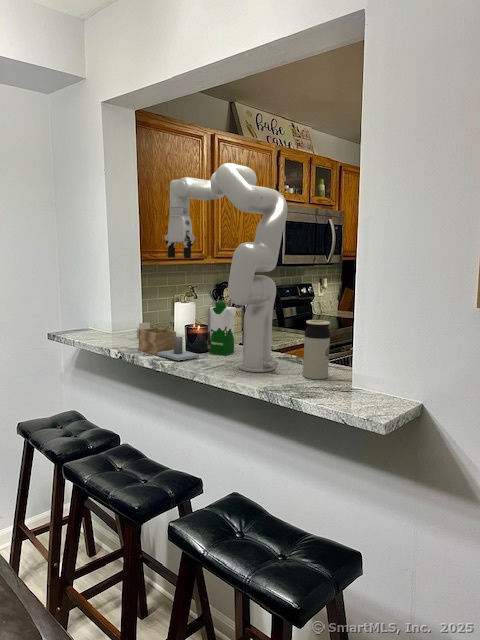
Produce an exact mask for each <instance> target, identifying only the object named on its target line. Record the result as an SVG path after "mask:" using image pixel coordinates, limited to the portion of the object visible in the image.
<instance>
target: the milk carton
mask: <svg viewBox="0 0 480 640" xmlns="http://www.w3.org/2000/svg"><path fill="white" fill-rule="evenodd" d="M209 308H210V317H211V323H210V348H209V354H210V355H217V356H218V355H219V356H225V357H227V356H228V355H230V354H234V353H235V322H236V321H235V318H236V310H237V307H235V306H234V307H233V306H227V303H226V302H224V301H216V302H215V306H213V307H209Z"/></svg>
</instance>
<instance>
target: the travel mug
mask: <svg viewBox="0 0 480 640" xmlns="http://www.w3.org/2000/svg"><path fill="white" fill-rule="evenodd" d="M305 323H306V326H307V327H306V329H305V331H304V342H303V345H304V346H303V363H302V365H303V366H302V376H303V377H305V379H309V380H314V381H315V380H316V381H317V380H325V379H327V378H329V363H330V361H329V360H330V345H331V343H330V342H331V331H330V329H329V326H330V324H331V322H330V321H329V320H328V321H327V320H321V319H308V320H306V322H305Z"/></svg>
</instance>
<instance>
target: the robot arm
mask: <svg viewBox="0 0 480 640" xmlns="http://www.w3.org/2000/svg"><path fill="white" fill-rule="evenodd" d="M257 180H258V178H257V175H256V172H255V171H254V170H253V169H252V168H250V167H248V166H246V165H241V164H238V163H231V162H225V163H222V164H221V165H220V166H219V167H218V168H217V169H216V171H214V173H212V175H211V177H210V179H202V178H196V177H190V176H185V177H182V178H179V179H173V180H171V181H170V183H169V219H168V226H167V227H168V228H167V234H165V235H164V240H165V244H166V247H167V258H172V259H173V258H174V259H175V257H176V247H175V245H176V244H178V243H179V244H183V246H184V247H183V259H191V258H192V248H193V244H194V243H195V240H196V236H195V234H193V225H192V219H191V216H190V212H191V211H190V199H191V200H200V201H212V200H213V201H214V200H218V199H219V200H220V199H221V198H223V197H224V196H225V197H226V198H227V200H229V202H230V203H231V205H233V206H234V207H235V208H236V209H237V210H238V211H241V212H243V213H251V214H258V215H259V214H260V215H263V217H262V218H261V219H260V220H259V223H258V224H257V227H256V229H255V236H254V240H253V241H247V242H245V241H244V242H243V243H240V244H239V245H238V246H237V247H236V248H235V250H234V251H233V255H232V259H231V263H230V264H231V266H230V270H229V278H228V283H227V285H228V286H227V293H228V298H229V300H230V301H231V302H232V303H233V304H234V305H236V306H246V309H245V311H244V314H243V315H244V317H243V341H242V342H243V343H242V344H243V345H242V348H243V349H242V361H241V362H239V363H238V364H237V367H238V369H239V370H241V371H245V372H249V373H250V372H251V373H265V372H271V371H274V370H276V369H277V367H278V366H279V364H280V363H279V361H276V360H274V356H273V355H272V335H273V332H272V330H273V312H274V307H275V306H274V305H275V302H276V296H277V287H276V286H277V285H276V283H275V281H274V280H273V279H272V278H271V277H269V276H267V275H264V274H263V275H262V274H256V273H265V272H266V273H267V272H271V271H273V270H274V269H275V268H276V266H277V263H278V260H279V259H278V258H279V254H280V248H281V244H282V237H283V231H284V228H285V224H286V220H287V216H288V203H287V201H286V198H285V197H284V195H283V194H282V193H280V191H278V190H276V189H273V188H270V187H266V186H259V185H256V184H257Z"/></svg>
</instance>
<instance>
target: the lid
mask: <svg viewBox="0 0 480 640" xmlns="http://www.w3.org/2000/svg"><path fill="white" fill-rule="evenodd" d="M183 338H184V337H183V336H176V337H174V350H168V351H162V352H157V355H156V356H159V357H164V358H166V357H167V359H170V360H175V361H177V360H178V362H181V361H180V360H183V361H187V360H186V359H188V360H193V359H195V358H200V354H199V353H195V352H191V351H187V350H183V349H184V348H183V347H184V346H183V343H184V342H183Z"/></svg>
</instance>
